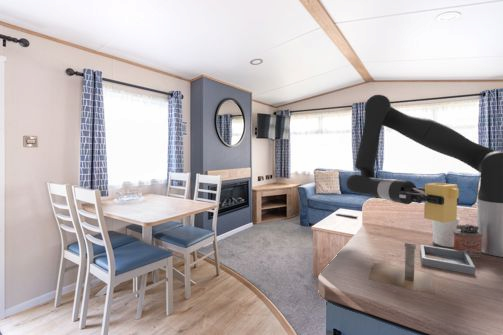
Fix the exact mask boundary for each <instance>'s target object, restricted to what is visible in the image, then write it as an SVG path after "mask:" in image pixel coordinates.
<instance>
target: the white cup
mask: <svg viewBox="0 0 503 335" xmlns="http://www.w3.org/2000/svg"><path fill="white" fill-rule="evenodd" d="M460 220H461V218H460V217H459V216H457V217H456V221H451V222H445V223H442V222H438V221H434V220H431V224H432V225H431V229H432V242H433V243H434V244H435V245H437V246H442V247H446V248H454V231H460V229H457V225H460Z"/></svg>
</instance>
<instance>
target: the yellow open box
mask: <svg viewBox="0 0 503 335" xmlns="http://www.w3.org/2000/svg"><path fill="white" fill-rule="evenodd" d="M458 186H459V185H458V184H456V183H455V184H453V183H446V182H445V183H444V182H431V183H424V188H425V193H427V194H429V195H436V196H442V197H444V204H443V205H439V204H434V203H429V202H428V203H424V206H423V207H424V209H423V210H424V213H423V214H424V215H423V216H424V217H423V218H424V219H427V220H431V221H432V220H434V221H438V222H442V223H445V222H451V221H456V217H458V216H457V214H458V213H457V209H458V203H457V198H459V199H460V188H458Z"/></svg>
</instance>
